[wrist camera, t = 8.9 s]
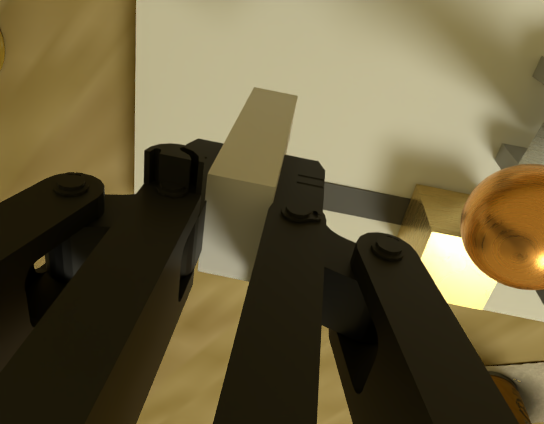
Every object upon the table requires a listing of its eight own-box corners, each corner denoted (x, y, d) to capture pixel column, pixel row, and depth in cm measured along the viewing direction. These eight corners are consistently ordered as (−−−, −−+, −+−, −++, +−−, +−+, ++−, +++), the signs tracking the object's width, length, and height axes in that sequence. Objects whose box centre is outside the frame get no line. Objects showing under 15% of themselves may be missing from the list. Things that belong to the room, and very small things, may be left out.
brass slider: (395, 240, 29) (406, 294, 24) (416, 183, 27) (431, 231, 22) (460, 253, 29) (481, 310, 24) (486, 197, 27) (515, 248, 22)
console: (153, 209, 35) (112, 271, 28) (170, -280, 21) (100, -372, 15) (584, 295, 34) (642, 379, 28) (883, -148, 21) (1129, -183, 14)
